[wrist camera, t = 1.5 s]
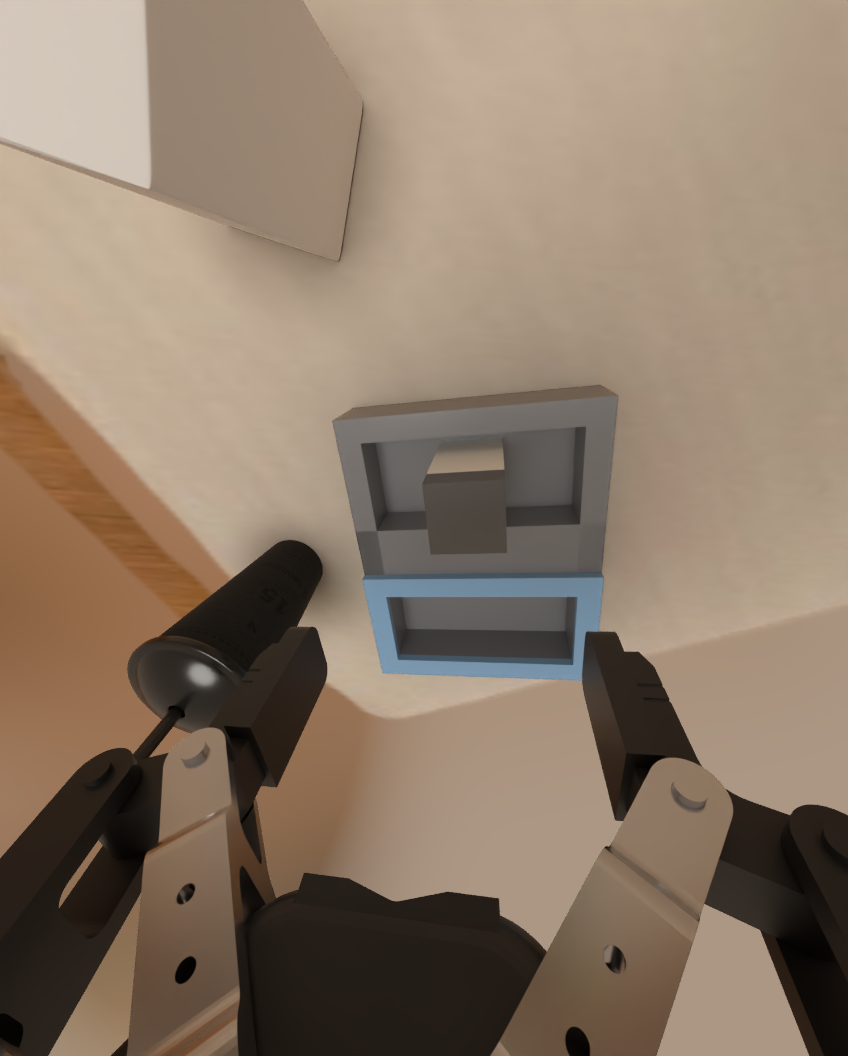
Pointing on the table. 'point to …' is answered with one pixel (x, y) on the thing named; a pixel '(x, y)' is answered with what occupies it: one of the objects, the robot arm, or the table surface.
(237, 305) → the table surface
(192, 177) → the milk carton
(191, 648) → the drinking cup
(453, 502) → the gray rectangular block
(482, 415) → the divided storage tray
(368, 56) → the table surface
